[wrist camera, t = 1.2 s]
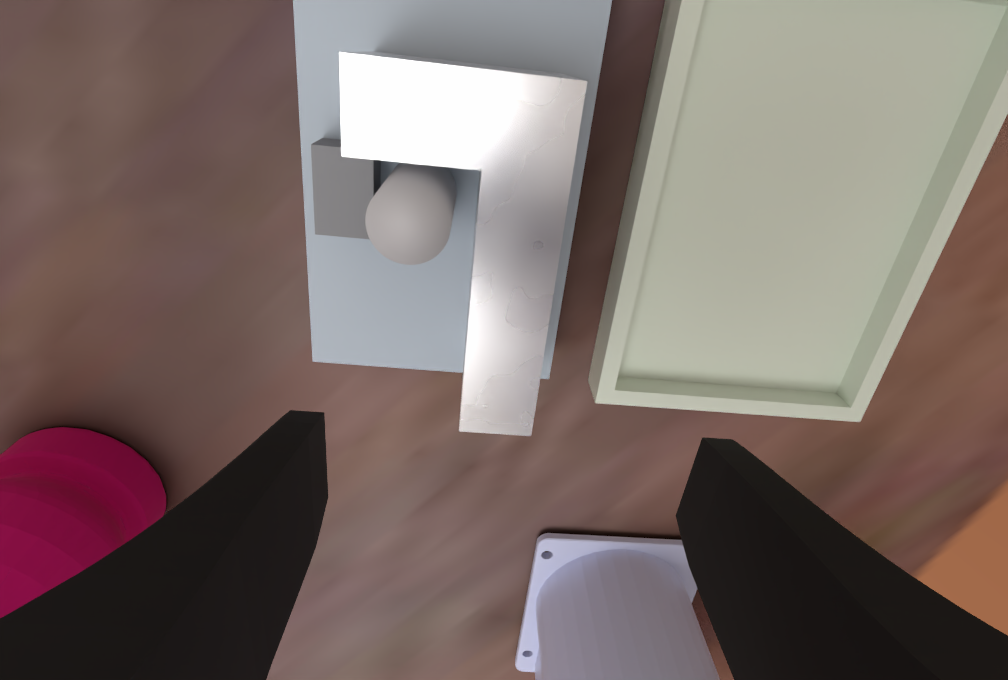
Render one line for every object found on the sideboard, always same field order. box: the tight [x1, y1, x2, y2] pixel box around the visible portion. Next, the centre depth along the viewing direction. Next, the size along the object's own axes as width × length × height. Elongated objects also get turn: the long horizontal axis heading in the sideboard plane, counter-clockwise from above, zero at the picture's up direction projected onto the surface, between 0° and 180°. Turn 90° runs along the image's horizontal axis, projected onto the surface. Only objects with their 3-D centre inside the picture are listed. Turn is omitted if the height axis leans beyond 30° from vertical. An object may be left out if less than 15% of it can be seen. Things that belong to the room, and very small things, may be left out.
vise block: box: [293, 0, 612, 379], centre depth 16 cm, size 12×8×6 cm, turn 174°
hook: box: [339, 51, 587, 436], centre depth 15 cm, size 9×5×4 cm, turn 174°
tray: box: [588, 0, 1008, 422], centre depth 18 cm, size 14×10×2 cm
